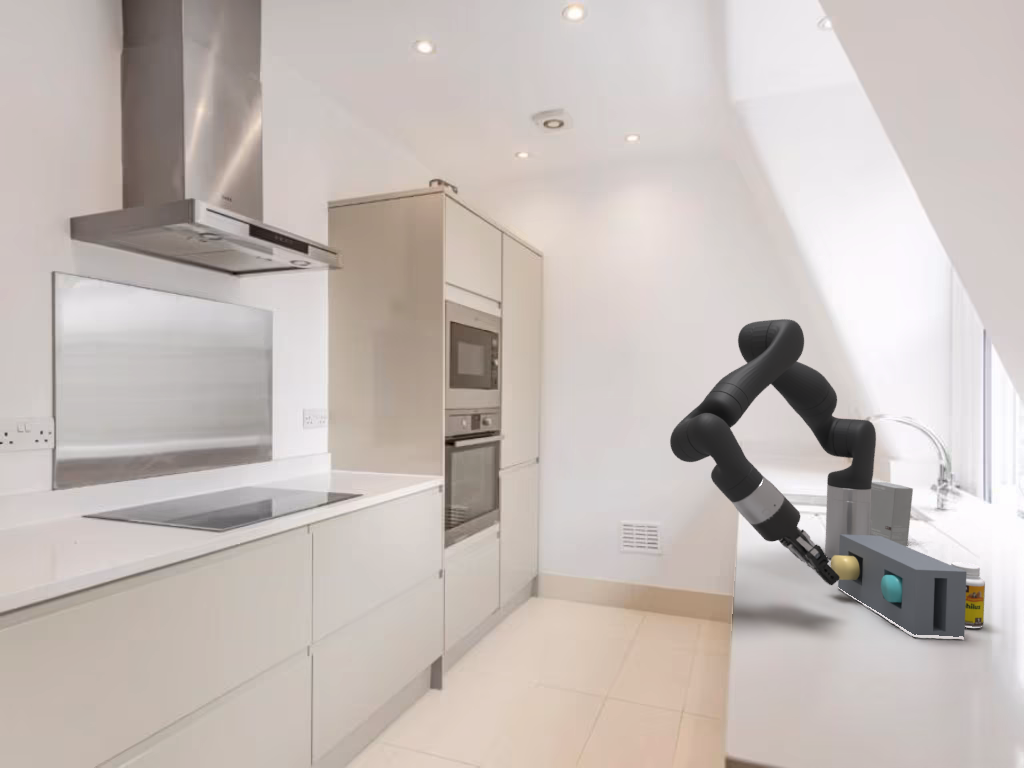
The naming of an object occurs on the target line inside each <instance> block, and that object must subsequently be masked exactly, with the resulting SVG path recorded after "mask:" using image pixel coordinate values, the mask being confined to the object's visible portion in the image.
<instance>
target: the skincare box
mask: <svg viewBox="0 0 1024 768" xmlns="http://www.w3.org/2000/svg"><path fill="white" fill-rule="evenodd" d="M913 490H914V488H912V487H908V486H904V485H900V484H895V483H891V482H885V481H883V482H882V481H880V482H879V481H872V486H871V517H870V520H871V521H872V532H871V536H882V537H884V538H887V539H889V540H891V541H894V542H896V543H899V544H901V545H903V546H906V547H908V545H909V544H908V542H909V531H910V523H911V522H910V521H911V511H912V504H913V503H912V502H913V492H914V491H913Z"/></svg>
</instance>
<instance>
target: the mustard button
mask: <svg viewBox="0 0 1024 768" xmlns="http://www.w3.org/2000/svg"><path fill="white" fill-rule="evenodd" d="M830 567H831V568H832V569H833V570H834V571H835V572H836V573H837V574H838V575H839V580H857V579H858V577H859V574H860V567H859V563H858V561H857V559H856V558H855V557H854V556H840V555H834V556H833V557H832V559H830Z"/></svg>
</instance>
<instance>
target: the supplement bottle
mask: <svg viewBox="0 0 1024 768" xmlns="http://www.w3.org/2000/svg"><path fill="white" fill-rule="evenodd" d="M950 565H952V566H954V567H956V568H959V569H961V570H964V571H966V602H965V626H972V627H981V626H984V621H985V620H984V619H985V618H984V617H985V616H984V615H985V613H984V612H985V597H986V595H985V594H986V593H985V591H986V581H985V580H984V578H981V576H980V574H981V572H980V570H981V569H980V566H978V565H977V564H973V563H969V562H963V561H962V562H961V561H952V562H951V564H950Z"/></svg>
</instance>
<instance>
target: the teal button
mask: <svg viewBox="0 0 1024 768" xmlns="http://www.w3.org/2000/svg"><path fill="white" fill-rule="evenodd" d="M902 580H903V578H901V577H899V576H897V575H885V576H883V578H882V580H881V590H882V594H883V596H884V598H885V599H886V600H887V601H888V602H899V603H902Z"/></svg>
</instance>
